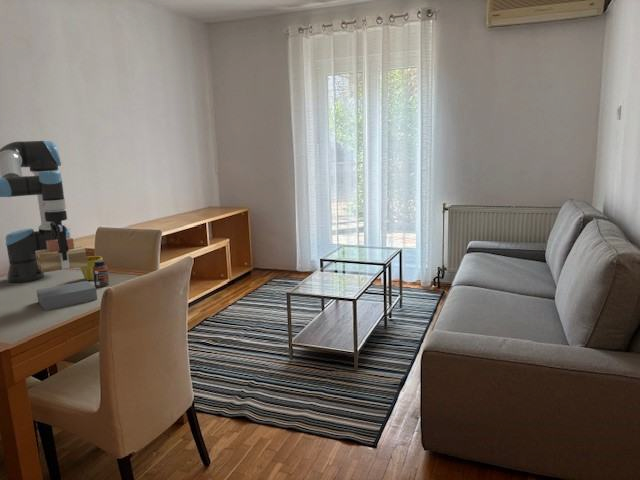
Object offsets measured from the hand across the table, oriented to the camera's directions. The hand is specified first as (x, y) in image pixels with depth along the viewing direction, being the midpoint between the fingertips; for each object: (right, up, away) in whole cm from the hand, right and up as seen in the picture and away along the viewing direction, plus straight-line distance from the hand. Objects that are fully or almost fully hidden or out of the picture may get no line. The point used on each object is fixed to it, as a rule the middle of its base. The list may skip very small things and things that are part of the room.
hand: (62, 265), depth 189 cm
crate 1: (-2, +6, -3) cm, 7 cm away
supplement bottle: (+5, -10, +23) cm, 26 cm away
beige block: (0, 0, 0) cm, 0 cm away
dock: (0, -14, +3) cm, 15 cm away
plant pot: (-5, -8, +35) cm, 37 cm away
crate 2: (+2, +7, 0) cm, 7 cm away
